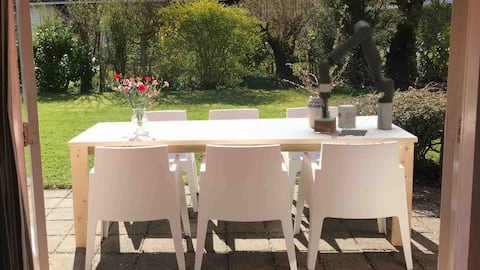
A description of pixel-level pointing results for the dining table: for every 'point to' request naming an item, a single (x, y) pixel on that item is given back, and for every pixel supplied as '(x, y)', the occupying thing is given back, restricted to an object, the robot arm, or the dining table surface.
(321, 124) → the walnut box
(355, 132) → the rubber mat
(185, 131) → the dining table surface
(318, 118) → the lid
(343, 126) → the supplement box
